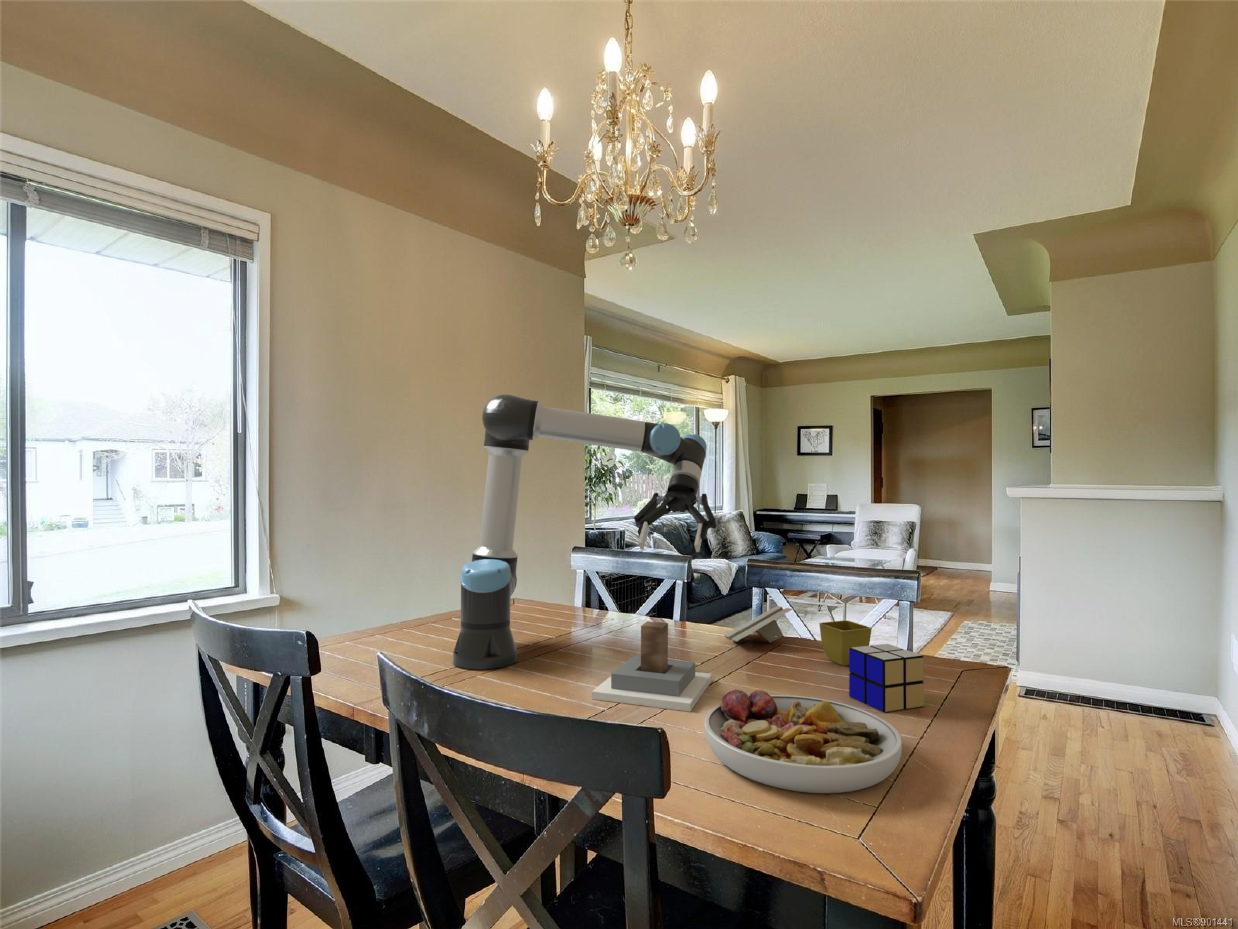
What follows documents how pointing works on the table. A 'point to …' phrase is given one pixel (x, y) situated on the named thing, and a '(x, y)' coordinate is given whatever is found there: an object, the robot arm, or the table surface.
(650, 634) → the walnut peg
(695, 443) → the robot arm
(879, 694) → the puzzle cube
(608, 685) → the socket plate
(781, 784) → the bowl
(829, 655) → the flower pot
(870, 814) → the table surface
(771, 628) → the grey sloped stand
